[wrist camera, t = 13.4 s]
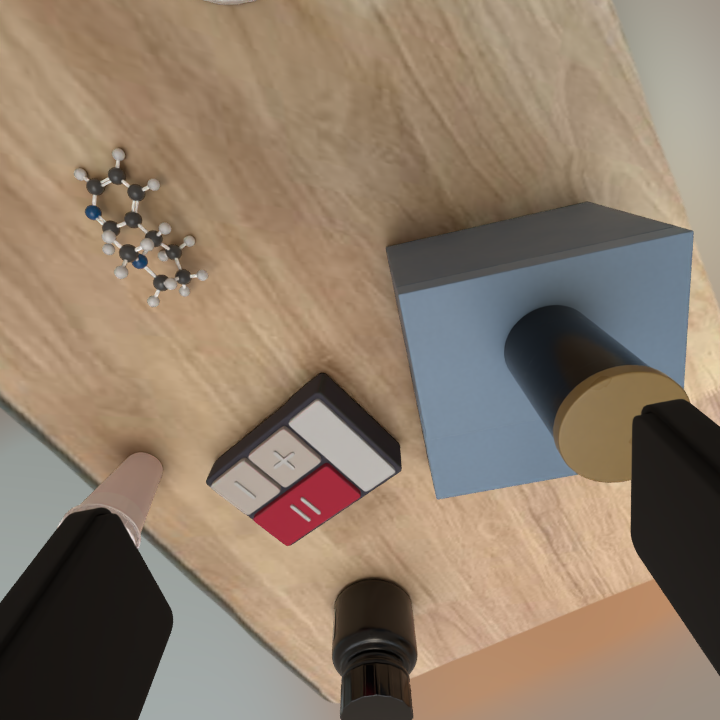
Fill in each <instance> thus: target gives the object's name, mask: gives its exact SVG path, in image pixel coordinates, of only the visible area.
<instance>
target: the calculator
mask: <svg viewBox="0 0 720 720" xmlns="http://www.w3.org/2000/svg"><path fill="white" fill-rule="evenodd" d="M400 471H401V453H400V445H399V444H398V443H397V442H396V441H395V440H394V439H393V438H392V437H391V436H390V435H389V434H388V433H387V432H386V431H385V430H384V429H383V428H382V427H381V426H380V425H378V424H377V423H376V422H375V421H374V420H373V419H372V418H371V417H370V416H369V415H368V414H367V413H366V412H365V411H364V410H363V409H362V408H361V407H360V406H359V405H357V404H356V403H355V402H354V401H353V400H352V399H351V398H350V397H349V396H348V395H347V394H346V393H345V392H344V391H343V390H342V389H341V388H340V387H339V386H338V385H336V384H335V383H334V382H333V381H332V380H331V379H330V378H329V377H328V376H327V375H326V374H324V373H321V374H319V375H317V376H316V377H315V378H314V379H313V380H311V381H310V382H309V383H308V384H306V385H305V386H304V387H303V388H302V389H300V390H299V391H298V392H297V393H295V394H294V395H293V396H292V397H291V399H290V400H289V401H288V402H287V403H286V404H285V405H284V406H283V407H281V408H280V409H279V410H278V411H276V412H275V413H274V414H273V415H272V416H270V417H269V418H268V419H267V420H265V421H264V422H263V423H262V424H261V425H259V426H258V427H257V428H256V429H254V430H253V431H252V432H251V433H249V434H248V435H247V436H246V437H245V438H243V439H242V440H241V441H240V442H238V443H237V444H236V445H235V446H234V447H232V448H231V449H230V450H229V451H227V452H226V453H225V454H224V455H222V456H221V457H220V458H219V459H218V460H216V461H215V463H214V465H213V467H212V469H211V471H210V473H209V476H208V478H207V480H206V483H207V485H208V486H210V487H211V488H212V489H213V490H214V491H215V492H217V493H218V494H219V495H220V496H222V497H223V498H224V499H226V500H227V501H228V502H230V503H231V504H232V505H234V506H235V507H236V508H237V509H239V510H240V511H241V512H243V513H244V514H246V515H247V516H249V517H250V518H251V519H253V520H254V521H255V522H256V523H257V524H258V525H260V526H261V527H262V528H264V529H265V530H266V531H268V532H269V533H270V534H271V535H273V536H274V537H275V538H277V539H278V540H279V541H281V542H282V543H283V544H285V545H286V546H290V545H292V544H294V543H295V542H297V541H298V540H300V539H301V538H303V537H304V536H306V535H307V534H309V533H310V532H311V531H313V530H314V529H316V528H317V527H319V526H320V525H322V524H323V523H325V522H326V521H328V520H329V519H331V518H332V517H334V516H335V515H337V514H338V513H340V512H341V511H343V510H344V509H346V508H347V507H349V506H350V505H352V504H353V503H354V502H356V501H357V500H359V499H360V498H362V497H363V496H365V495H366V494H368V493H369V492H371V491H372V490H374V489H375V488H377V487H378V486H380V485H381V484H383V483H384V482H386V481H387V480H389V479H390V478H392V477H393V476H394V475H396V474H397V473H399V472H400Z"/></svg>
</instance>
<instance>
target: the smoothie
mask: <svg viewBox="0 0 720 720" xmlns="http://www.w3.org/2000/svg"><path fill="white" fill-rule="evenodd" d="M162 474H163V467H162V464H161V463H160V461H159V460H158V459H157V458H156V457H154V456H153V455H150V454H148V453H143V452H138V453H134V454H132V455H130V456H129V457H128V458H127V459H126V460H125V461H124V462H123V463H122V464H121V465H120V466H119V467H118V468H117V469H116V470H115V471H114V472H113V473H112V474H110V475H109V476H108V477H107V478H106V479H105V480H104V481H103V482H102V483H101V484H100V485H99V486H98V487H97V488H96V489H95V490H94V491H93V492H92V493H91V494H90V495H89V497H87V498H86V499H85V500H84V501H83V502H82V503H81V504H80V505H78V506H76V507H74V508H72V509H70V510H69V511H68V512H67V513H66V514H65V516H64V518H63V519H62V521H61V522H60V523H59V525H58V527H59V526H60V524H61V523H62V522H63V520H64V519H65V518H66V517H67V516H68V515H69V514H71V513H74V512H79V511H84V510H89V509H95V508H100V507H102V508H107V509H108V510H110V512H111V513H114V514H117V515H118V516H119V517H120V518H121V520H122V522H123V524H124V526H125V527H126V529H127V531H128V533H129V534H130V536H131V538H132V540H133V542H134V543H135V545H136V547H137V549H138V548H139V547H140V542H141V536H140V533H141V530H142V528H143V525H144V522H145V519H146V517H147V514H148V511H149V509H150V506H151V503H152V501H153V498H154V495H155V492H156V490H157V487H158V484H159V482H160V479H161V476H162ZM58 527H57V528H58Z"/></svg>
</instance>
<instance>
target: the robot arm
mask: <svg viewBox="0 0 720 720" xmlns="http://www.w3.org/2000/svg"><path fill="white" fill-rule="evenodd" d="M204 1H208V2H212V3H216V4H232V5H238V4H243V3H247V2H252V1H256V0H204ZM631 538H632V542H633V545H634V548H635V550H636V552H637V554H638V555H639V557H640V558H641V560H642V561H643V563H644V564H645V566H646V567H647V569H648V570H649V572H650V573H651V575H652V576H653V578H654V579H655V581H656V582H657V584H658V585H659V587H660V588H661V590H662V591H663V593H664V594H665V596H666V597H667V598H668V600H669V601H670V603H671V604H672V606H673V607H674V609H675V610H676V612H677V613H678V615H679V616H680V618H681V619H682V621H683V622H684V623H685V625H686V627H687V628H688V629H689V631H690V632H691V634H692V636H693V637H694V638H695V640H696V642H697V643H698V644H699V646H700V647H701V649H702V650H703V652H704V653H705V655H706V656H707V658H708V659H709V661H710V662H711V664H712V665H713V667H714V668H715V670H716V671H717V673H718V674H719V676H720V426H718V425H717V424H716V423H715V422H713V421H712V420H711V419H710V418H708V417H707V416H706V415H705V414H703V413H702V412H701V411H699V410H698V409H697V408H696V407H694V406H693V405H692V404H691V403H689V402H688V401H686V400H684V399H675V400H670V401H665V402H659V403H654V404H649V405H646V406H644V407H643V409H642V411H641V415H637V416H635V417H634V418H633V422H632V473H631ZM172 627H173V614H172V611H171V608H170V606H169V604H168V603H167V601H166V599H165V597H164V596H163V594H162V592H161V590H160V588H159V586H158V585H157V583H156V581H155V580H154V578H153V576H152V574H151V572H150V570H149V569H148V567H147V565H146V563H145V561H144V560H143V558H142V556H141V554H140V552H139V551H138V549H137V547H136V545H135V543H134V542H133V540H132V538H131V536H130V534H129V533H128V531H127V529H126V527H125V526H124V524H123V522H122V520H121V518H120V517H119V516H118V515H117V514H114V513H111V512H110V510H108V509H107V508H102V507H100V508H95V509H89V510H84V511H79V512H74V513H71V514H69V515H68V516H67V517H66V518H65V519H64V520H63V522H62V523H61V524H60V526H59V527H58V528H57V529H56V531H55V532H54V534H53V535H52V536H51V537H50V539H49V540H48V541H47V543H46V544H45V545H44V547H43V548H42V549H41V550H40V552H39V553H38V554H37V556H36V557H35V558H34V559H33V561H32V562H31V563H30V565H29V566H28V567H27V569H26V570H25V571H24V573H23V574H22V575H21V576H20V578H19V579H18V581H17V582H16V583H15V584H14V586H13V587H12V588H11V589H10V591H9V592H8V593H7V595H6V596H5V597H4V599H3V600H2V601H1V603H0V720H138V719H139V716H140V713H141V711H142V708H143V705H144V703H145V700H146V697H147V695H148V692H149V689H150V687H151V684H152V681H153V679H154V676H155V673H156V671H157V668H158V666H159V663H160V660H161V657H162V655H163V652H164V650H165V647H166V644H167V641H168V639H169V636H170V634H171V631H172Z"/></svg>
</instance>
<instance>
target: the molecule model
mask: <svg viewBox="0 0 720 720" xmlns="http://www.w3.org/2000/svg"><path fill="white" fill-rule="evenodd" d="M112 156H113V158H114V159H116V167H114V168H111V169H110V170H109V171H108V178H106V179H104V180H102V181H100V180H98V179H90V180H89V179H88V178H87V173H86V171H85V170H83V169H81V168H78V169H76V170H75V171H74V176H75V177H76V178H77V179H78V180H85V181H86V182H87V184H86V188H87V190H88V192H89V193H91V194H92V195H93V201H92V205H89V206H87V207H86V209H85V214H86V216H87V217H88V218H89V219H91V220H97V221H98V222H99V223H100V224H101V225H103V226H102V230H103V234H102V239H103V240H104V242H106V243H108V244H105V245H104V246H103V248H102V249H103V252H104V253H105V254H107V255H112V254H114V252H115V247H114V246H113V245H112V244H111V243H114V244H115V245H116V246H118V247H119V248H120V250H119V256H120V258H121V259H122V260H123V264H122V266H118V267H116V268H115V270H114V274H115V276H116V277H118V278H120V279H124V278H126V277H127V276H128V270H127V268H126V265H127V262H131V263H132V265H133V266H134V267H135V268H137V269H143V268H145V269H146V270H147V271H148V272H149V273H150V274H151V275H152V276H153V277H154V280H153V285H154V287H155V288H156V289H157V290H156V293H155V295H154V296H150V297H149V298H148V299H147V303H148V305H149V306H151V307H156V306H158V305H159V303H160V300H159V298H158V295H159V293H160V291H166V290H168V289H169V290H173V289H175V288H176V287H177V282H178V283H179V284H182V286H181V287H180V289H179V293H180V295H182V296H188V295H189V294H190V289H189V287H187V286H186V284H188V283H190V281H191V279H192V278H194V277H197V278H198V279H199V280H201V281H204V280H206V279H207V278H208V273H207V271H205V270H199V271H198V272H197V274H192V275H191V273H190V272H189V271H188V270H186V269H182V268H181V265H180V263H179V260H178V259H179V258H180V257H181V255H182V251H181V249H182V248H183V247H185V246H189V247H191V246H193V245H194V244H195V239H194V237H192V236H186V237H185V238H184V243H183V244H182V245H180V246H177V245H174V244H171V245H169V246H167V245H165V244H164V243H162V241H163V238H162V235H161V234H169V233H170V232H171V226H170V224H168V223H166V222H163V223H161V224H160V225H159V232H157V231H154V230H152V231H149V232H148V231H147V230H146V229H145V228H144V227H143V226H142V225H141V224H142V218H141V216H140V215H139V214H138V213H137V211H138V203H139V201H141V200H143V199H144V197H145V191H146V190H148V189H151V190H153V191H157V190H158V189H159V188H160V183H159V181H158V180H157V179H150V180H149V181H148V186H146V187H142V186H140V185H138V184H132V185H129V184H128V183H127V182H126V181H125V180H126V175H125V173H124V171H123V170H122V169H120V168H119V167H120V161H122V160H123V159H124V158H125V153H124V151H123V150H121V149H119V148H116V149H114V150H113V151H112ZM108 180H109V181H108ZM106 181H107V182H106ZM104 182H105V183H104ZM111 182H112V183H113V184H116V185H120V184H124V185H125V186H127V187H128V190H127V193H128V196H129V197H130V198H131V199H132V200H133V203H132V211H130V212H128V213H126V215H125V217H124V222H122V223H120V224H117V223H116V222H114V221H105V220H104V219H103V218H102V217H101V215H102V212H101V210H100V208H99V207H97V206H96V198H97V196H98V195H101V194H102V193H103V192H104V190H105V187H104V186H105V185H107V184H109V183H111ZM135 201H136V206H135ZM134 208H135V212H134ZM99 218H100V219H101V220H102V221H103V222H104V223H103V222H102V221H100V220H99ZM124 225H127V226H129V227H131V228H138V227H139V228H140V229H141V230H142V231H143V232H145V233H146V235H145V239H143V240H142V241H141V243H140V245H141V246H139V247H137V248H136V247H134V246H133V245H130V244H126V245H123V246H122V245H121V244H120V243H119V242H117V241H116V236H117V235H118V234H119V233H120V227H122V226H124ZM160 245H161V246H162V247H164V248H165V249H166V250H165V251H164V250H162V251H160V252H159V253H158V258H159V259H160V260H161V261H167V260H168V259H171V260H175V261H176V264H177V266H178V269H179V270H178V271H177V272H176V274H175V278H168V277H167V276H165V275H158V276H157V275H156V274H155V273H154V272H153V271H152V270H151V269H149V268H148V267H147V264H148V260H147V258H146V256H145V255H146V254H147V252H148V251H151V250H152V249H153V248H154V247H158V246H160ZM142 249H143V250H144V252H143V253H142V254H139V253H138V251H140V250H142Z"/></svg>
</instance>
